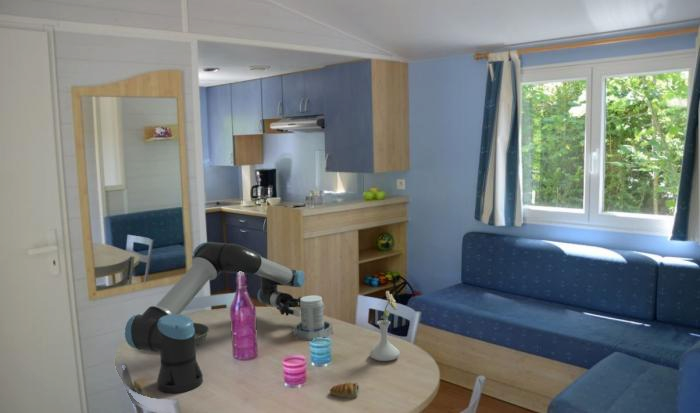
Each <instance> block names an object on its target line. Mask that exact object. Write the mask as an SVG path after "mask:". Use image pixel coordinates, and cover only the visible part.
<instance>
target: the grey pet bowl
mask: <svg viewBox="0 0 700 413" xmlns="http://www.w3.org/2000/svg"><path fill="white" fill-rule="evenodd" d="M333 330H334V329H333V323H332V322H330V321H328V320H324V330H321V331H315V332H306V331H302V323H301V321H300V322H297V323H296V324H294V326H293V335H294V336H293V337H295V338H297V339H299V340H300V339H301V340H305V339H306V340H309V341H310V339H313V338H317V337H326V338H328V337H330V336H331V335H333V334H332V333H334V332H333ZM330 334H331V335H330ZM329 335H330V336H329Z"/></svg>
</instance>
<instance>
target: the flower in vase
mask: <svg viewBox="0 0 700 413" xmlns="http://www.w3.org/2000/svg"><path fill="white" fill-rule="evenodd" d="M385 297H386V300H387V302H386V303H387V304H386V305H385V308H384V313H383V314H382V316H380V319H382V320H378V321H376V323H377V325H378V327H379V328H380V335H381V336H380V342H379V343H377V344H376V345H375V346H374V347H373V348H371V349H370V351H369V356H370V358H372V359H374V360H376V361H380V362H388V361H394V360H396V359H397V358H399V357H400V355H401V352H400V350H399V349H398V348H397V347H396V346H394V344H392V343H391V342H390V341H389V340H388V330H389V329H388V328H389V326H390V324H391V321H390V320H386V319H385V318H387V317H389V316H390V312H389V310H388V309H387V308H388V306H390V307H391V308H392V309H393V310H395V311H397V310H398V305H397V303H396V302H397V301H396V299H395V298H394V297H393V294H392V293H391V294H390V290H386V291H385Z"/></svg>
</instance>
